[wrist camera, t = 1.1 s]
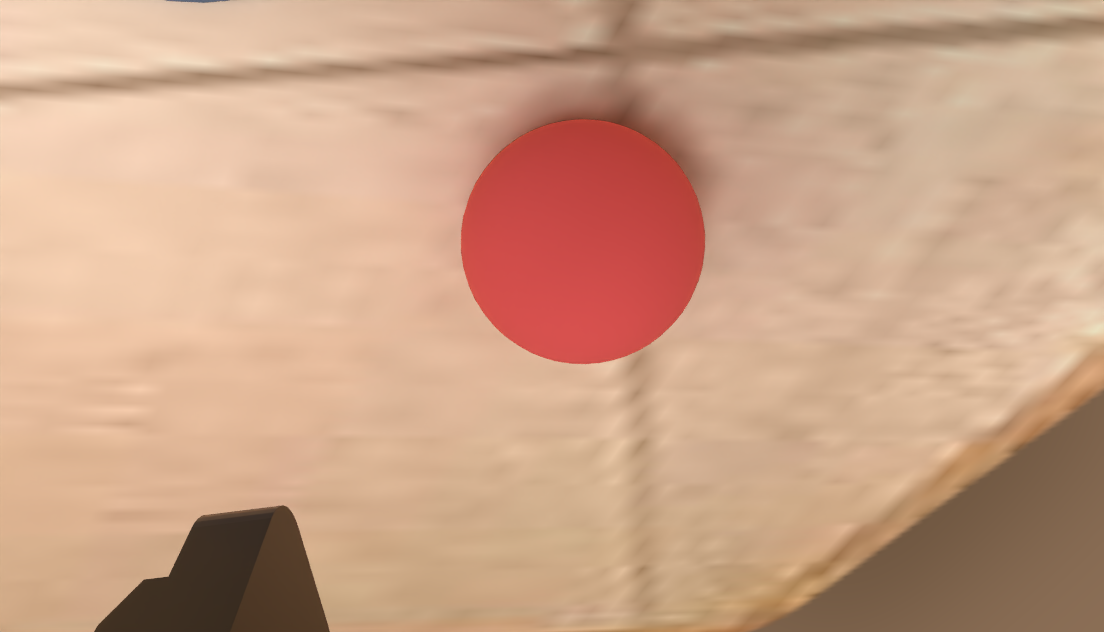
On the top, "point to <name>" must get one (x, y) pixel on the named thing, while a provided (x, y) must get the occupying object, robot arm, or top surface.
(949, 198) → the top surface
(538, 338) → the ball
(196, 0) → the disc
